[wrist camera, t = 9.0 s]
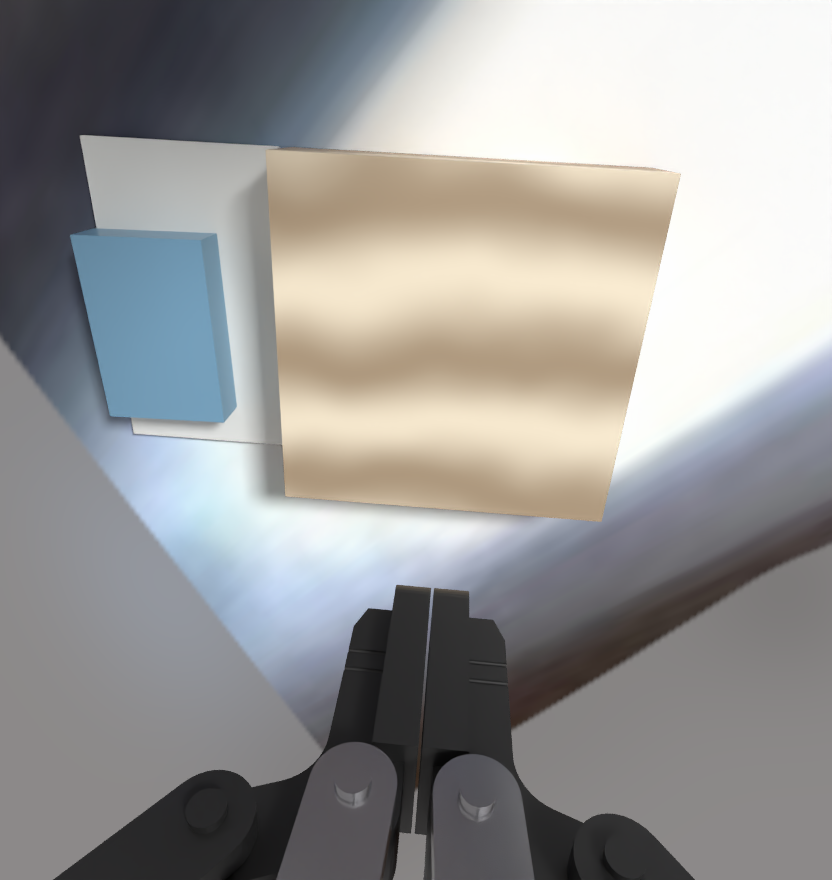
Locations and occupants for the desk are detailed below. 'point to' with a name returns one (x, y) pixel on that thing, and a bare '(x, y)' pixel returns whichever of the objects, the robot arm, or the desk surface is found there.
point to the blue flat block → (158, 322)
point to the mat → (240, 249)
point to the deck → (459, 325)
